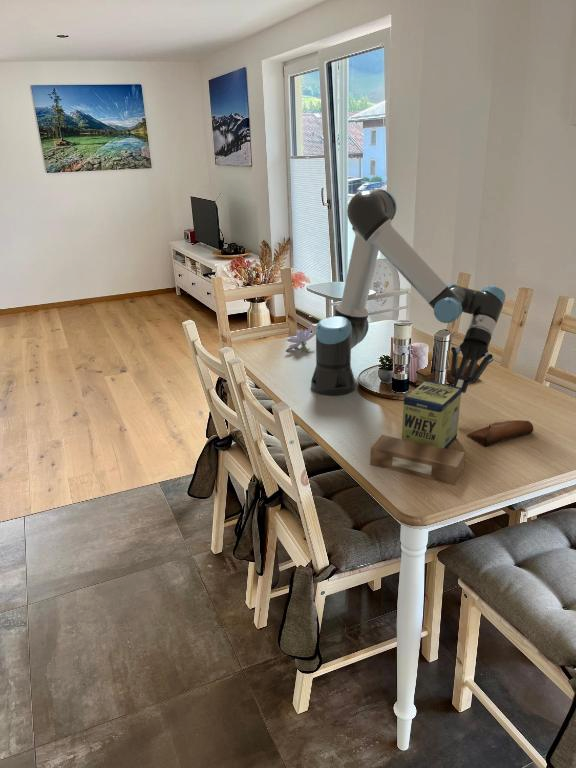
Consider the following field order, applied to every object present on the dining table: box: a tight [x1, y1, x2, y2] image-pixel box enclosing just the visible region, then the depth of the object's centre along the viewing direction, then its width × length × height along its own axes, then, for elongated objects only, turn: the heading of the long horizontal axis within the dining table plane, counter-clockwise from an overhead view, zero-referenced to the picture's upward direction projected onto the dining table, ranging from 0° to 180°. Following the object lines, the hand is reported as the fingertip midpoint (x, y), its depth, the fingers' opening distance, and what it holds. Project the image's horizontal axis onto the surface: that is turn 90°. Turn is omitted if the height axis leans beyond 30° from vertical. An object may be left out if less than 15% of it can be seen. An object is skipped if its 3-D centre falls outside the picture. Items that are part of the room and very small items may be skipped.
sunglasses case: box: [466, 419, 534, 448], centre depth 166 cm, size 18×7×7 cm
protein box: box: [401, 380, 462, 449], centre depth 160 cm, size 10×16×16 cm
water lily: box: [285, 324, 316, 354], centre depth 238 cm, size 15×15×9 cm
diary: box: [416, 351, 480, 385], centre depth 210 cm, size 23×19×6 cm
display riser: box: [369, 434, 466, 486], centre depth 150 cm, size 22×8×5 cm, turn 61°
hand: (454, 400), depth 175 cm, fingers closed
